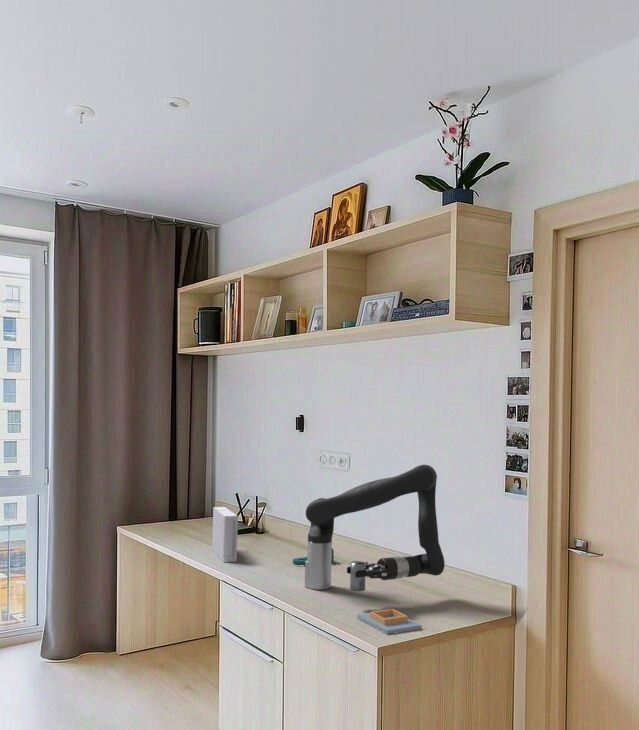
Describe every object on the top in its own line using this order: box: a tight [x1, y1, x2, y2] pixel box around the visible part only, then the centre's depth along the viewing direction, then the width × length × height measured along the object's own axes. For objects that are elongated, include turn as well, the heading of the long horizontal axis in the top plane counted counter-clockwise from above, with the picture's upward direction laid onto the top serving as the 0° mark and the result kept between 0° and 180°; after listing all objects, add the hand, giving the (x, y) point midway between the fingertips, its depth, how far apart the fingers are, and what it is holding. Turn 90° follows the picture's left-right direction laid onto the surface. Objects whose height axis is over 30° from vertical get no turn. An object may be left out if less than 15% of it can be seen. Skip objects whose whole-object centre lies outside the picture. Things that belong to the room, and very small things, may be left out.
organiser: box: [356, 608, 423, 635], centre depth 235 cm, size 18×13×3 cm
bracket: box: [292, 547, 335, 566], centre depth 319 cm, size 18×7×8 cm, turn 121°
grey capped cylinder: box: [349, 560, 367, 592], centre depth 251 cm, size 5×5×9 cm
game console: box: [211, 506, 239, 563], centre depth 330 cm, size 6×27×20 cm, turn 19°
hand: (351, 572), depth 250 cm, fingers closed on grey capped cylinder, 5 cm apart
